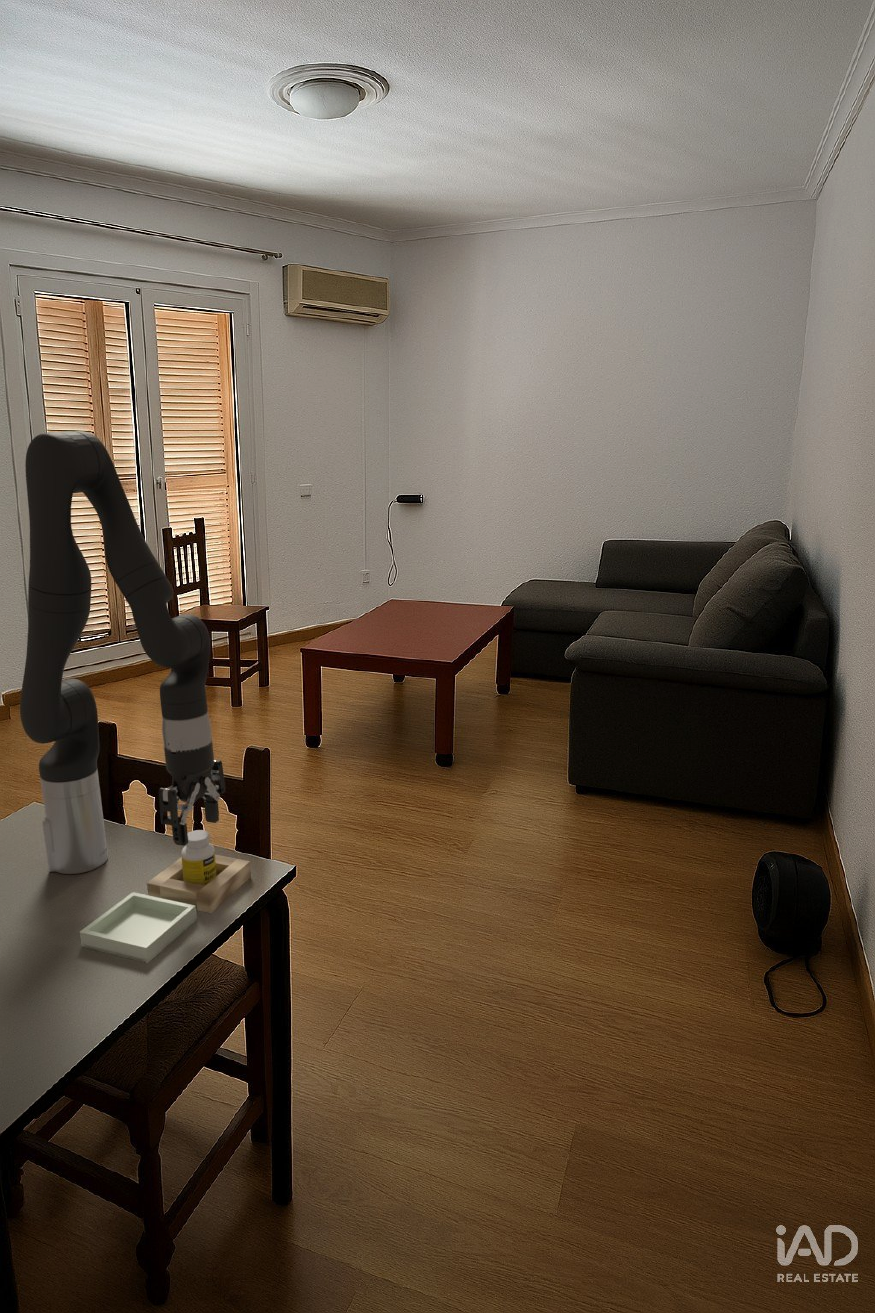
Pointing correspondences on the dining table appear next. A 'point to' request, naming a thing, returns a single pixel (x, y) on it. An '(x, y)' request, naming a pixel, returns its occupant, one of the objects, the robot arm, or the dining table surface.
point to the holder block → (203, 897)
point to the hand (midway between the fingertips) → (197, 832)
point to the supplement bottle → (198, 858)
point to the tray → (138, 927)
